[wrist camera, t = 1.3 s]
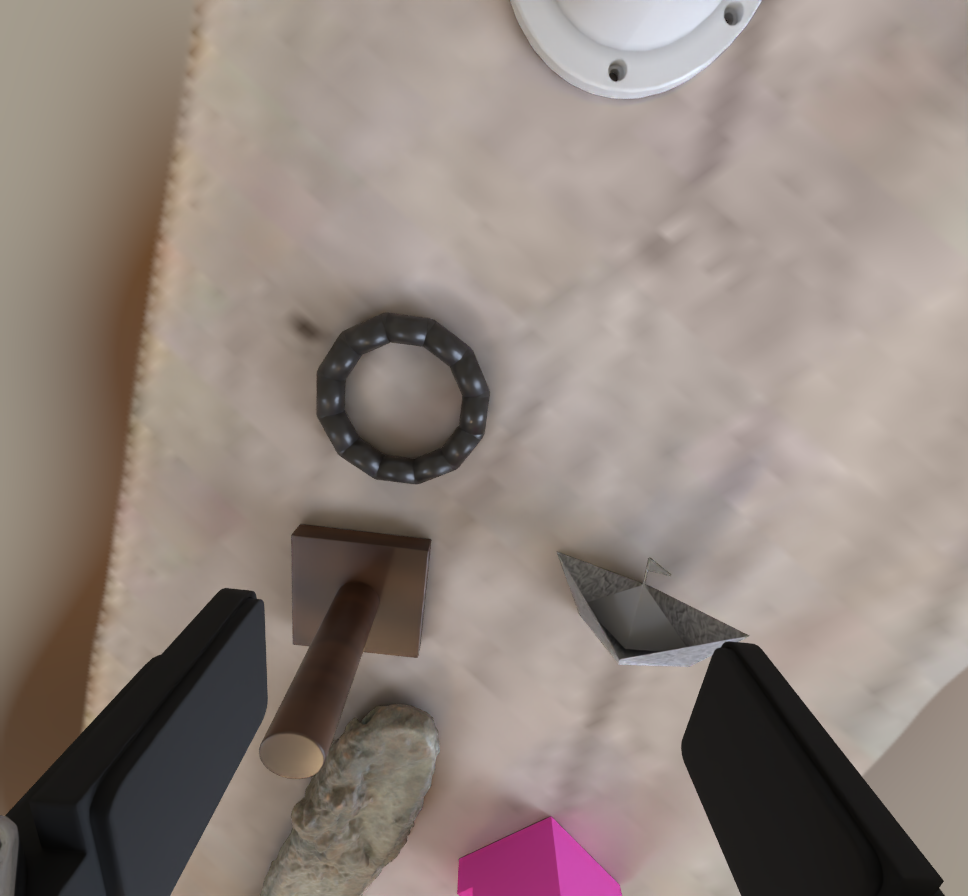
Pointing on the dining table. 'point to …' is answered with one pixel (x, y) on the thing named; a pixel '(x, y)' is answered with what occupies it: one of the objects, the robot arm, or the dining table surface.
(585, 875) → the bracket
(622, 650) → the paper boat
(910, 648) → the dining table surface
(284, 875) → the long grey stone
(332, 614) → the peg stand
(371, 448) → the hoop
